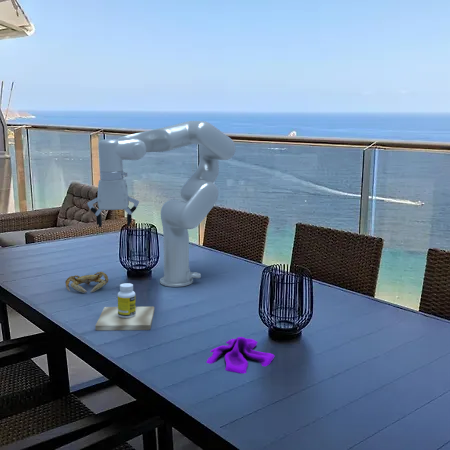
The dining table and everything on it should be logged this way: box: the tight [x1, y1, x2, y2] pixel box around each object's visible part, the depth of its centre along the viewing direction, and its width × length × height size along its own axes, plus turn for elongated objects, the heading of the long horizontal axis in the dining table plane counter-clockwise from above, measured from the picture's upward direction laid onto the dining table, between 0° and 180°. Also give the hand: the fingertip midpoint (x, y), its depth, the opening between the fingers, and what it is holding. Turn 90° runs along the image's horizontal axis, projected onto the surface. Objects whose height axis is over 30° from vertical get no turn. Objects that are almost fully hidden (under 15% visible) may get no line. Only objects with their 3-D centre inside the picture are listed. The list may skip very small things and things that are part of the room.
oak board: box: [94, 306, 155, 331], centre depth 166 cm, size 16×16×2 cm
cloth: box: [205, 336, 276, 375], centre depth 141 cm, size 22×19×6 cm
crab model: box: [64, 271, 110, 294], centre depth 197 cm, size 16×13×6 cm
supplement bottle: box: [117, 282, 137, 318], centre depth 165 cm, size 5×5×10 cm
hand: (114, 225), depth 185 cm, fingers open, 9 cm apart
